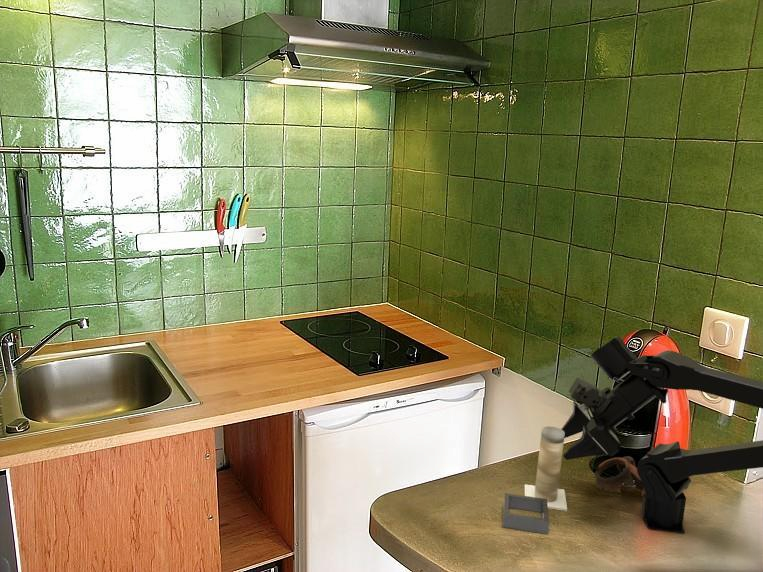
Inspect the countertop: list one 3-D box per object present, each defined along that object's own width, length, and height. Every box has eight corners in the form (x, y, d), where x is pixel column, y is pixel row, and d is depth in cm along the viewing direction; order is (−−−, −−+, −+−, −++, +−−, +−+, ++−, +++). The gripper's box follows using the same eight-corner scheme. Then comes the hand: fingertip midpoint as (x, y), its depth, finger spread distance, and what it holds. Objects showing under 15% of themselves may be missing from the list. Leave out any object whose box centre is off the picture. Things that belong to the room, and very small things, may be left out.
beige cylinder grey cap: (556, 492, 127) (564, 428, 124) (557, 503, 123) (565, 437, 120) (534, 489, 128) (541, 425, 125) (534, 500, 124) (542, 434, 121)
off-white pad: (564, 491, 128) (564, 489, 128) (567, 511, 121) (567, 509, 121) (524, 486, 130) (524, 484, 130) (524, 505, 123) (524, 503, 123)
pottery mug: (648, 513, 122) (631, 479, 121) (602, 517, 128) (585, 485, 127) (655, 473, 132) (639, 441, 131) (612, 479, 137) (596, 448, 136)
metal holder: (545, 510, 121) (547, 498, 121) (547, 534, 113) (548, 521, 113) (503, 504, 123) (504, 493, 122) (502, 527, 115) (503, 514, 114)
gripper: (589, 353, 128) (530, 400, 132) (607, 384, 110) (538, 437, 114) (625, 393, 128) (565, 438, 132) (649, 430, 110) (579, 481, 114)
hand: (561, 447), depth 123 cm, fingers open, 9 cm apart
